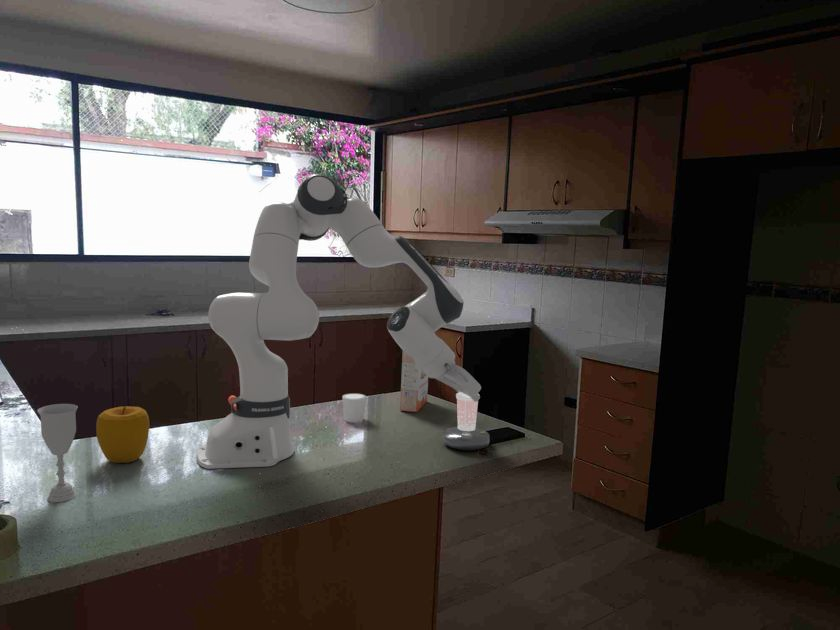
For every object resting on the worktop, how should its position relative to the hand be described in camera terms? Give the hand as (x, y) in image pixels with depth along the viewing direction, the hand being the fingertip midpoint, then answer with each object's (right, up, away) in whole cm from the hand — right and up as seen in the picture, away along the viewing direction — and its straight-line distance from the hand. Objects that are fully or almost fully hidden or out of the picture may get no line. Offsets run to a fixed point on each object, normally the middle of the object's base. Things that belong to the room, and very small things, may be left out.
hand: (469, 395), depth 158 cm
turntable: (-1, -13, +1) cm, 13 cm away
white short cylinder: (-32, -10, +20) cm, 39 cm away
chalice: (-84, -16, -36) cm, 93 cm away
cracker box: (-15, -8, +35) cm, 39 cm away
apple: (-81, -13, -17) cm, 84 cm away
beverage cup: (-1, -9, +1) cm, 9 cm away
